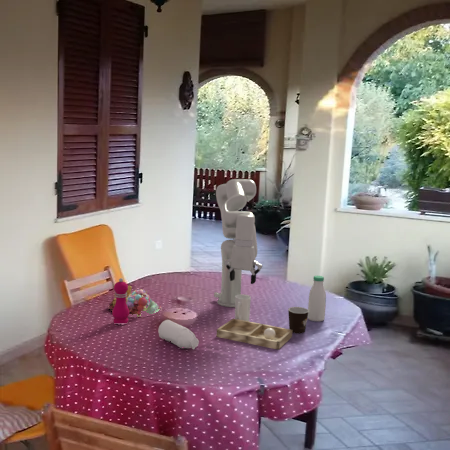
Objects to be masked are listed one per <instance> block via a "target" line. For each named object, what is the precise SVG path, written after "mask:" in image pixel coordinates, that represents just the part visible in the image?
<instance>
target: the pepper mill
mask: <svg viewBox="0 0 450 450" xmlns="http://www.w3.org/2000/svg"><path fill="white" fill-rule="evenodd" d="M128 286H129V285H128V283H127V282H125V281H124V278H123V277H120V278H119V279H118V281H117V282H116V283H115V284H114V286H113V291H114V292H115V293H114V294H115V296H116V304H115V306H114V308H113V312H112V317H113V322H114V323H127V322H128V323H129V317H128V316H129V309H128V306H127V304H126V296H127V293H126V292H127V290H128ZM115 296H114V297H115ZM114 323H113V324H114Z"/></svg>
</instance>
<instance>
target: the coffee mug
mask: <svg viewBox="0 0 450 450" xmlns="http://www.w3.org/2000/svg"><path fill="white" fill-rule="evenodd" d="M287 312H288V326H289V328H288V329H291V330H293V331H292V334H298V335H300V334H304V333H305V332H306V328H307V327H306V326H307V322H308V312H309V310H308V308H305V307H300V306H292V307H289V308H288V310H287Z"/></svg>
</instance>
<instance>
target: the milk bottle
mask: <svg viewBox="0 0 450 450" xmlns="http://www.w3.org/2000/svg"><path fill="white" fill-rule="evenodd" d="M324 281H325V277H324V276H323V275H314V276H313V283H312V284H313V285H312V287H311V289H310V290H309V295H308V303H307V304H308V306H307V309H308V310H309V312H308V318H307V320H309V321H311V322H323V321H324V320H325V318H326V305H327V304H326V302H327V292H326V290H325V285H324Z"/></svg>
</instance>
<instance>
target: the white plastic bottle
mask: <svg viewBox="0 0 450 450" xmlns="http://www.w3.org/2000/svg"><path fill="white" fill-rule="evenodd" d="M157 331H158V337H159V338H160V339H161V340H164V339H165V341H166V342H170V341H171V342H170V343H172V345H173V344H174V345H175V346H177V347H179V348H180V349H192V350H196V349H195V348H197V347H198V346H199V343H200V341H199V339H198V338H197V337H196V334H195V333H194V332H193V331H191V329H189V328H188V327H185V326H184V325H181V324H179V323H176V322H174V321H172V320H170V319H165V320H163V321H162V322H161V323H160V324H159V326H158V330H157ZM182 347H184V348H182Z"/></svg>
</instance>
